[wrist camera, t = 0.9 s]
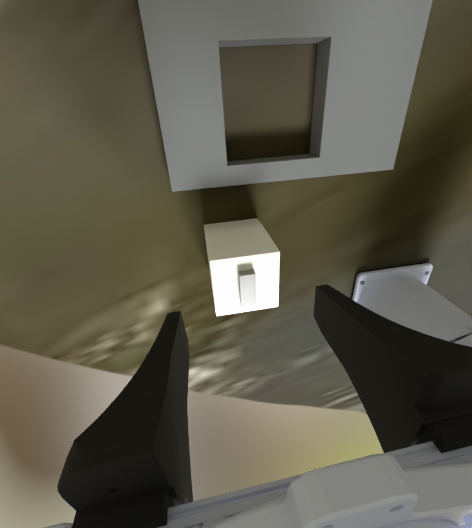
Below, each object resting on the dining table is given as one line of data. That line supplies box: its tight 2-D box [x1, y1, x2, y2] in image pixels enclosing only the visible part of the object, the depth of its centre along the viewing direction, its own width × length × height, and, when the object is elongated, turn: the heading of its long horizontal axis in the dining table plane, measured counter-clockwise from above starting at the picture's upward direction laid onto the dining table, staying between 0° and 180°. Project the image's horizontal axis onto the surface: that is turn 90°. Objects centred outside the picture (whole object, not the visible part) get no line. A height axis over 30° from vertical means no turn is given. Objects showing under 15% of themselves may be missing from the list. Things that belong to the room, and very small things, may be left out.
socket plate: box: [138, 0, 433, 192], centre depth 15 cm, size 16×16×2 cm
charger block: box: [204, 218, 280, 316], centre depth 20 cm, size 4×4×7 cm
